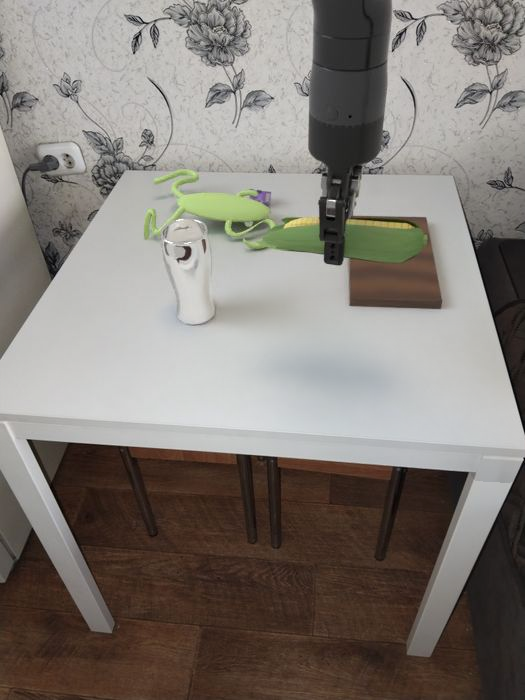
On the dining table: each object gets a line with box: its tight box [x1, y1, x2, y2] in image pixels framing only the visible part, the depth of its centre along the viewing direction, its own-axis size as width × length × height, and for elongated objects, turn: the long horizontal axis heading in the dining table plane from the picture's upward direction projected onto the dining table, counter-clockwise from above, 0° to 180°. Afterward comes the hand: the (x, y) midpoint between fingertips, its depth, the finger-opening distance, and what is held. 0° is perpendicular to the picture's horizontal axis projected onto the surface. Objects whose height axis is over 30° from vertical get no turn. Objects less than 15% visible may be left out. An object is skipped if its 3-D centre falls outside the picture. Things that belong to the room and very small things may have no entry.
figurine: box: [143, 168, 278, 250], centre depth 110 cm, size 18×27×6 cm
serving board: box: [348, 215, 443, 310], centre depth 100 cm, size 24×14×2 cm, turn 174°
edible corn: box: [255, 216, 427, 264], centre depth 69 cm, size 5×20×5 cm, turn 79°
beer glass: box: [160, 217, 216, 326], centre depth 87 cm, size 7×7×15 cm
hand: (337, 248), depth 70 cm, fingers closed on edible corn, 5 cm apart
